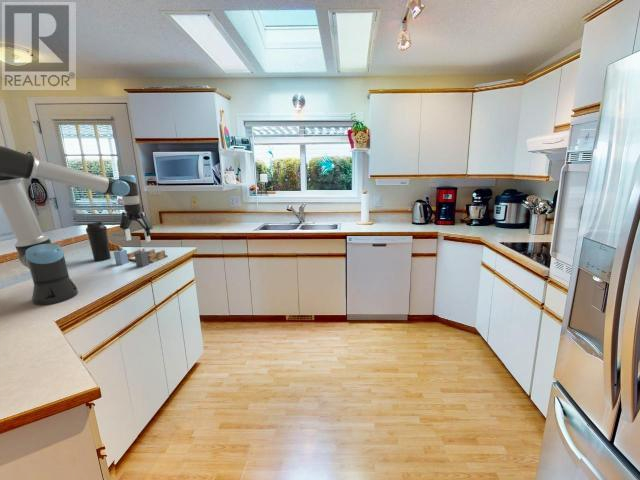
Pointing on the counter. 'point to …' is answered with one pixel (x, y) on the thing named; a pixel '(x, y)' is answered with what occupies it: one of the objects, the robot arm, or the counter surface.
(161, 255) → the slot rack
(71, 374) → the counter surface
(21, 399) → the counter surface
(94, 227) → the water bottle
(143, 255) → the plug charcoal
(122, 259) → the plug blue
